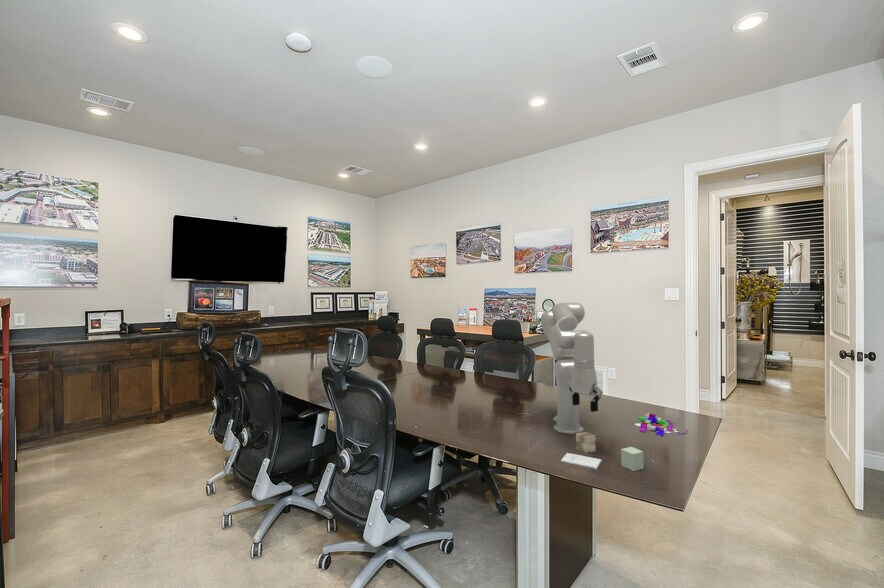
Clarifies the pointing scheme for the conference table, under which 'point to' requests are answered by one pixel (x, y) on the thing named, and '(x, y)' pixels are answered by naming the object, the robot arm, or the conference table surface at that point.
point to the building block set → (651, 420)
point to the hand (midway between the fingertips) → (584, 408)
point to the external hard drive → (582, 460)
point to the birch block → (585, 442)
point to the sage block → (632, 458)
